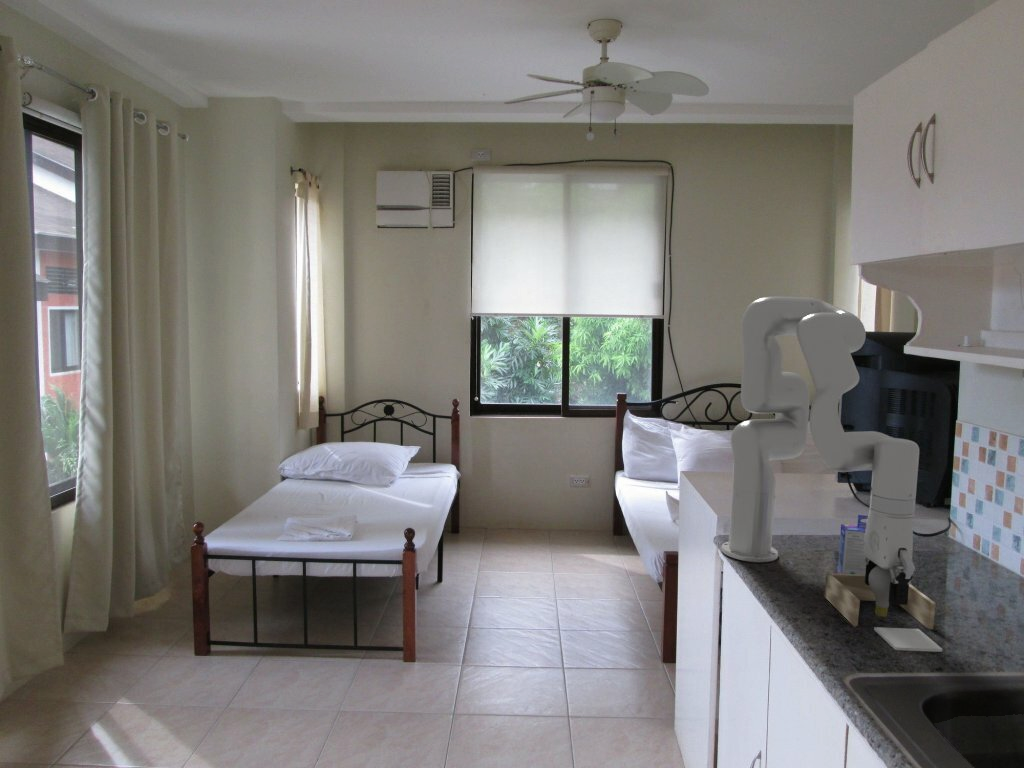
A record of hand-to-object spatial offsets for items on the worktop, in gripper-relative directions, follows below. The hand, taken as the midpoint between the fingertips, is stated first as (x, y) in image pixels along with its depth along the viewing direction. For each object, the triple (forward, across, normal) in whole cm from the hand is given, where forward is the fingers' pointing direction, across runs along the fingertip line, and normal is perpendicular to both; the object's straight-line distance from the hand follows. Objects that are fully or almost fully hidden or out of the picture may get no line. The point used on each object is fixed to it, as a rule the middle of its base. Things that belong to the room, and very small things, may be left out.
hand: (885, 594), depth 146 cm
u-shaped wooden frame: (+5, -2, 0) cm, 5 cm away
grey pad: (+5, +10, 0) cm, 11 cm away
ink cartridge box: (+5, -18, +4) cm, 19 cm away
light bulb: (+5, 0, 0) cm, 5 cm away
